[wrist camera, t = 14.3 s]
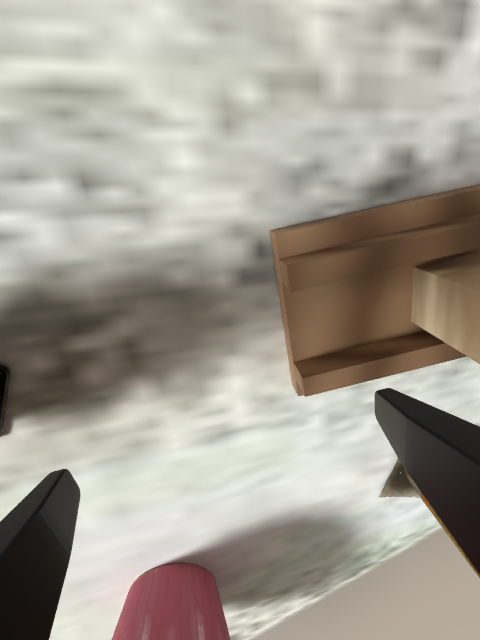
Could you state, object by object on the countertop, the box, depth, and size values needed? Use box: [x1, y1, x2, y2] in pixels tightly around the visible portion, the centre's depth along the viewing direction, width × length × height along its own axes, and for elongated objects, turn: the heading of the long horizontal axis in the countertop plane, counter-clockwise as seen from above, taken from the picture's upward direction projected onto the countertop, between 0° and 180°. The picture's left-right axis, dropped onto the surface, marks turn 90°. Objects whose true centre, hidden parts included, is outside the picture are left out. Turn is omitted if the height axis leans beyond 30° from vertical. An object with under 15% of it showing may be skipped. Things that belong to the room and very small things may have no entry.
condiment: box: [379, 459, 480, 577], centre depth 25 cm, size 7×8×12 cm
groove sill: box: [270, 185, 480, 397], centre depth 21 cm, size 22×12×4 cm, turn 101°
